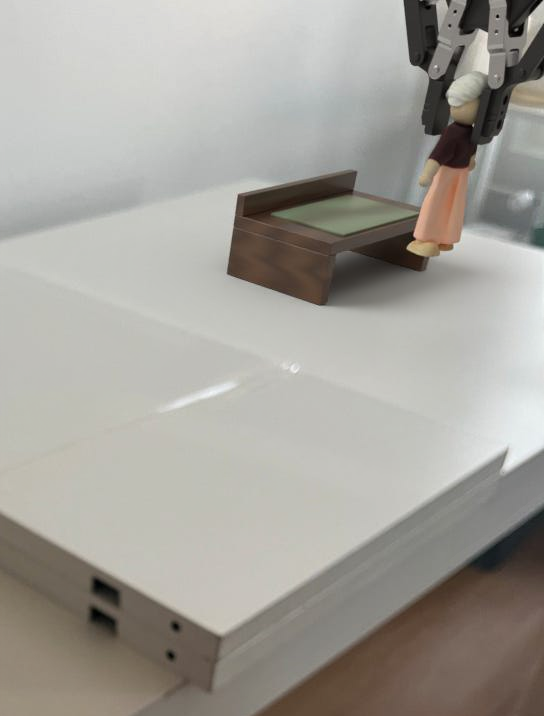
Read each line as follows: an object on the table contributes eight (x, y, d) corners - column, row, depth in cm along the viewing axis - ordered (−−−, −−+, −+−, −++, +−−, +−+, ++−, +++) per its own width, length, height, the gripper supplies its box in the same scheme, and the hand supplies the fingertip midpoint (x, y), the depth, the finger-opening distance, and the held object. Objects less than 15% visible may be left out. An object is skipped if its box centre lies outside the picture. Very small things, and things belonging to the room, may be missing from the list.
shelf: (426, 269, 113) (446, 192, 109) (320, 305, 102) (336, 221, 97) (335, 242, 120) (350, 169, 115) (226, 273, 109) (237, 193, 104)
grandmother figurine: (442, 264, 80) (490, 81, 72) (394, 254, 81) (435, 73, 74) (469, 242, 85) (516, 68, 77) (423, 233, 87) (465, 62, 79)
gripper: (402, -150, 70) (351, 128, 80) (606, -147, 62) (521, 162, 72) (458, -145, 74) (403, 118, 85) (656, -141, 66) (568, 149, 77)
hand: (457, 137), depth 78 cm, fingers closed on grandmother figurine, 3 cm apart
